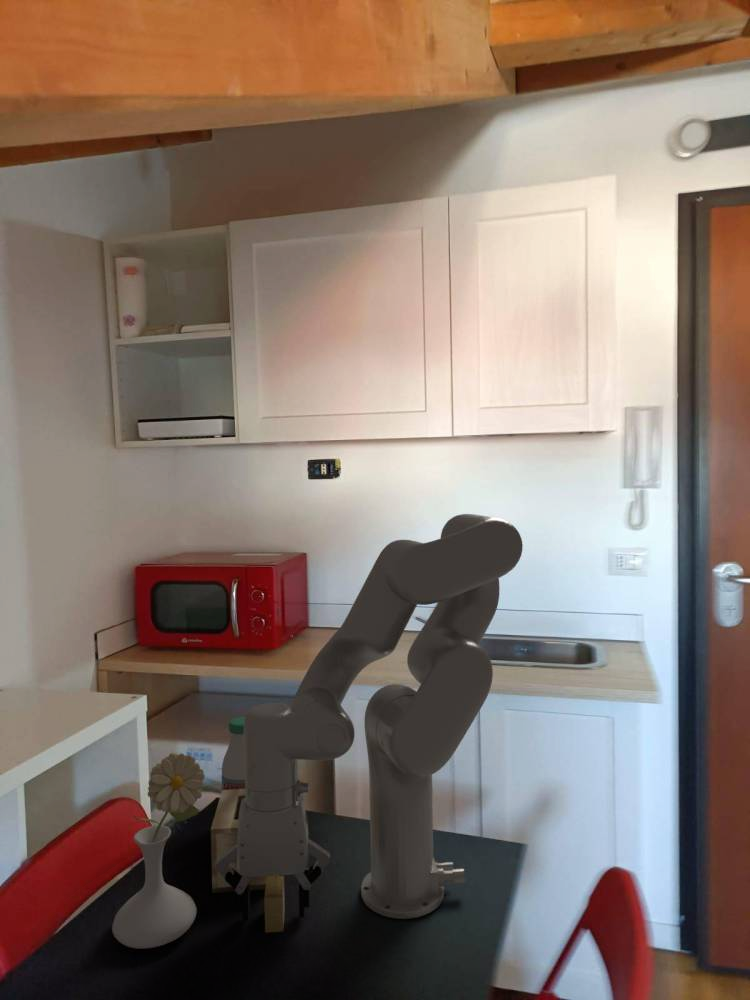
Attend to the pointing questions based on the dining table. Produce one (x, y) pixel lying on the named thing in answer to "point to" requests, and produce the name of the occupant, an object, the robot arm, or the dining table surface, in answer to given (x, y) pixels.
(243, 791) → the box
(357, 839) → the dining table surface
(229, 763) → the milk bottle
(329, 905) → the dining table surface
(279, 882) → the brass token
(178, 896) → the flower in vase
